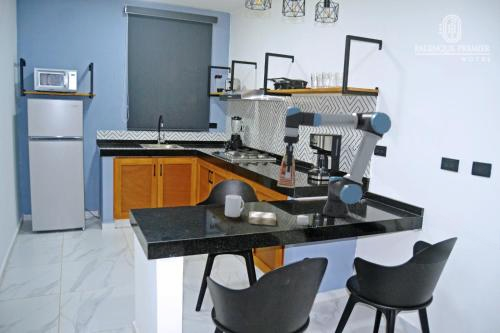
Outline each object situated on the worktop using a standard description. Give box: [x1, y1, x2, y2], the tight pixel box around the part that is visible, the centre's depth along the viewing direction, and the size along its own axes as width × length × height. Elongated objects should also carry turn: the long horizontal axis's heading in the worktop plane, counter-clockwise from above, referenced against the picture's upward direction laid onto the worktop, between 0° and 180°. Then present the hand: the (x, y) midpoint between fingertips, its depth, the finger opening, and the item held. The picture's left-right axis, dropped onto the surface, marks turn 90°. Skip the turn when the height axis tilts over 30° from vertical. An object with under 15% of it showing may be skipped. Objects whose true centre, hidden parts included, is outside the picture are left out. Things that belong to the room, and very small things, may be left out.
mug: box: [224, 194, 245, 218], centre depth 229 cm, size 9×12×11 cm
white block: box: [296, 214, 310, 226], centre depth 222 cm, size 6×6×4 cm
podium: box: [248, 211, 277, 226], centre depth 221 cm, size 14×14×3 cm
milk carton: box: [276, 153, 296, 189], centre depth 226 cm, size 9×9×20 cm
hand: (287, 176), depth 226 cm, fingers closed on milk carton, 9 cm apart
